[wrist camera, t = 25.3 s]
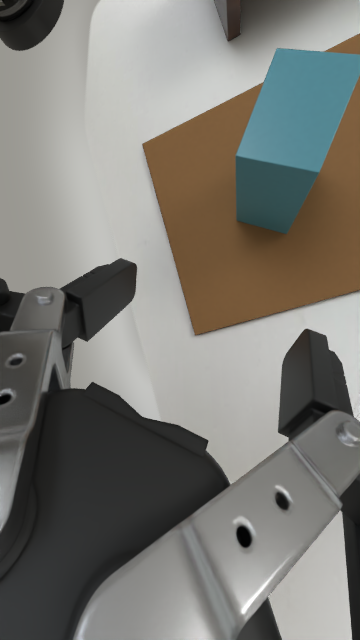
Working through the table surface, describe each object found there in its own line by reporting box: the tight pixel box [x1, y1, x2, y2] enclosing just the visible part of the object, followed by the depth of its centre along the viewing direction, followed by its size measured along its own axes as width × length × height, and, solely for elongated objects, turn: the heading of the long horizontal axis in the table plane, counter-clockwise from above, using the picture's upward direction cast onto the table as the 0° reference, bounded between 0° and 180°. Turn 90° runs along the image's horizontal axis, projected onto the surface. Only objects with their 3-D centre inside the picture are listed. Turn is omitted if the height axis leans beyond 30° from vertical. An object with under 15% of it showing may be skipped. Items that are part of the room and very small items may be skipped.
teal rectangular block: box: [235, 48, 360, 234], centre depth 16 cm, size 4×6×8 cm
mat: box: [142, 34, 360, 335], centre depth 20 cm, size 20×20×1 cm
